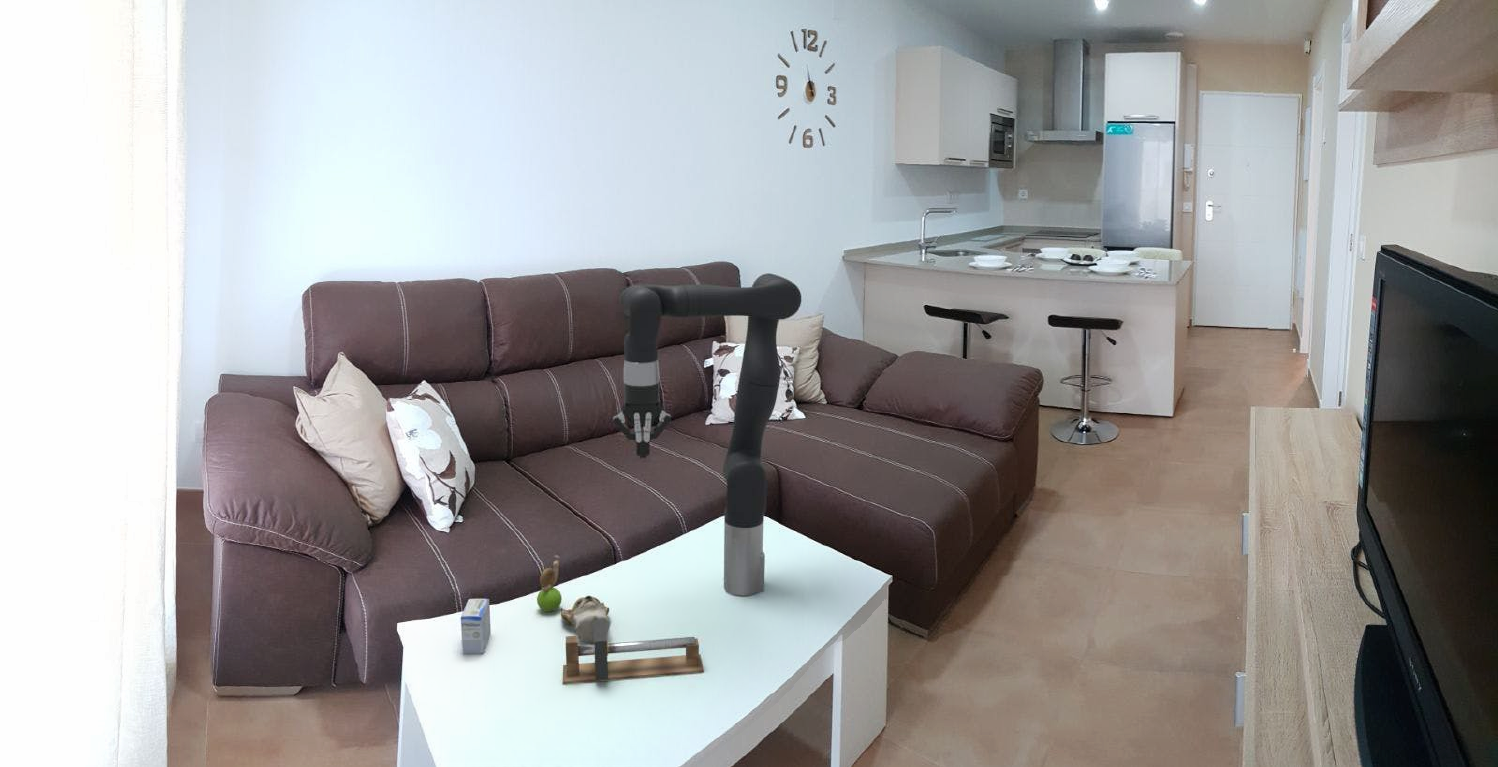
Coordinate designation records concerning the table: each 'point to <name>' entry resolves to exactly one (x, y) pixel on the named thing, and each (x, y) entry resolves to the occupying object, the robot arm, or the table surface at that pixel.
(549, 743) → the table surface
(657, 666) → the stand
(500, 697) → the table surface
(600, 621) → the dark grey frame
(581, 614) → the ceramic sculpture
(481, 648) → the medicine box
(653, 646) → the pipe
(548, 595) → the snail figurine
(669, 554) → the table surface
